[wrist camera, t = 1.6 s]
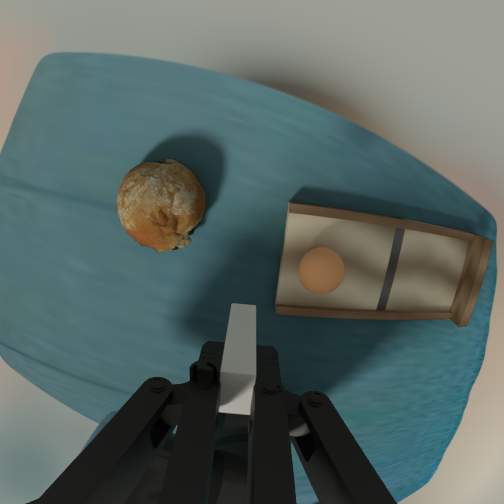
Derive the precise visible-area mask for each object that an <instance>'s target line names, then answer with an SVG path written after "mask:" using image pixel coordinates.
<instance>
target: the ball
mask: <svg viewBox="0 0 504 504" xmlns="http://www.w3.org/2000/svg"><path fill="white" fill-rule="evenodd" d="M344 273H345V268H344V264H343V261H342V259H341V257H340V256H339V255H338V254H337V253H336V252H335V251H333V250H331V249H329V248H324V247H319V248H314V249H312V250H310V251H308V252H307V253H306V254H305V255H304V256H303V257H302V259H301V261H300V263H299V268H298V274H299V279H300V281H301V283H302V285H303V286H304V287H305V288H306V289H307V290H308V291H310V292H312V293H315V294H327V293H330V292H332V291H334V290H335V289H337V288H338V287H339V285H340V284H341V282H342V280H343V278H344Z"/></svg>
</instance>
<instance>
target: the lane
mask: <svg viewBox="0 0 504 504" xmlns="http://www.w3.org/2000/svg"><path fill="white" fill-rule="evenodd" d="M492 244H493V241H492V240H489V239H487V238H484V237H482V236H479V235H477V234H474V233H470V232H466V231H461V230H457V229H452V228H447V227H443V226H438V225H433V224H428V223H423V222H418V221H413V220H407V219H402V218H396V217H391V216H385V215H379V214H373V213H367V212H361V211H354V210H348V209H341V208H334V207H327V206H320V205H313V204H305V203H297V202H288V211H287V219H286V226H285V234H284V242H283V249H282V257H281V264H280V271H279V278H278V285H277V292H276V299H275V305H274V308H275V314H277V315H290V316H306V317H323V318H345V319H380V320H432V319H450V320H452V321H453V322H454V323H455V324H456V325H457V326H458V327H464V326H467V325H468V322H469V320H470V317H471V314H472V312H473V309H474V306H475V303H476V301H477V298H478V295H479V292H480V288H481V285H482V282H483V279H484V275H485V272H486V268H487V264H488V260H489V256H490V252H491V248H492ZM319 247H324V248H329V249H331V250H333V251H335V252H336V253H337V254H338V255H339V256H340V257H341V259H342V261H343V264H344V268H345V273H344V278H343V280H342V282H341V284H340V285H339V287H338V288H337V289H335V290H334V291H332V292H330V293H327V294H315V293H312V292H310V291H308V290H307V289H306V288H305V287H304V286H303V285H302V283H301V281H300V279H299V274H298V268H299V263H300V261H301V259H302V257H303V256H304V255H305V254H306V253H307V252H308V251H310V250H312V249H314V248H319Z"/></svg>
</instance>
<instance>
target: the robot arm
mask: <svg viewBox="0 0 504 504" xmlns="http://www.w3.org/2000/svg"><path fill="white" fill-rule="evenodd" d="M176 425H178V427H177V431H176V434H174V433H172V432H173V430H174V429H175V427H176ZM291 443H293V445H294V447H295V450H296V452H297V454H298V456H299V459H300V461H301V463H302V465H303V468H304V470H305V472H306V474H307V476H308V479H309V481H310V483H311V485H312V487H313V489H314V491H315V494H316V496H317V498H318V500H319V502H320V504H397V503H396V501H395V500H394V498H393V497H392V495H391V494H390V492H389V491H388V489H387V488H386V486H385V485H384V483H383V482H382V480H381V479H380V477H379V476H378V474H377V472H376V471H375V469H374V468H373V466H372V465H371V463H370V462H369V460H368V459H367V457H366V456H365V454H364V452H363V451H362V449H361V448H360V446H359V445H358V443H357V442H356V440H355V438H354V437H353V435H352V434H351V432H350V431H349V429H348V428H347V426H346V424H345V423H344V421H343V420H342V418H341V417H340V415H339V413H338V412H337V410H336V409H335V407H334V406H333V404H332V402H331V401H330V399H329V398H328V397H327V396H326V395H325V394H323V393H321V392H318V391H309V392H306V393H304V394H303V395H302V396H299V395H295V394H292V393H290V392H288V391H286V390H285V389H284V387H283V386H282V385H281V379H280V370H279V361H278V352H277V351H276V350H275V348H274V347H273V346H259V345H256V305H247V304H237V303H232V305H231V310H230V316H229V322H228V328H227V334H226V340H225V343H222V342H213V341H207V342H206V343H205V344H204V345H203V346H202V349H201V353H200V356H199V360H198V361H196V362H194V363H193V364H192V365H191V366H190V381H188V382H186V383H183V384H173V385H172V384H171V382H170V381H169V380H167V379H165V378H162V377H153V378H150V379H148V380H146V381H145V382H144V383H143V384H142V385H141V386H140V388H139V389H138V390H137V391H136V392H135V393H134V394H133V395H132V396H131V398H130V399H129V400H128V401H127V402H126V403H125V404H124V405H123V407H122V408H121V409H120V410H119V411H113V412H111V413H109V414H108V415H107V416H106V417H105V418H104V419H103V420H102V421H101V423H100V424H99V426H98V427H97V428H96V430H95V431H94V432H93V434H92V435H91V437H90V438H89V440H88V441H87V443H86V444H85V446H84V447H83V449H82V450H81V452H80V454H79V455H78V456H77V457H76V459H75V460H74V461H73V462H72V463H71V464H70V465H69V466H68V467H67V468H66V469H65V471H64V472H63V473H62V474H61V475H60V476H59V477H58V478H57V479H56V480H55V481H54V483H53V484H52V485H51V486H50V487H49V488H48V489H47V490H46V491H45V492H44V494H43V495H42V496H41V497H40V498H39V499H36V500H34V501H31V502H29V503H26V504H297V503H296V494H295V483H294V473H293V463H292V454H291Z"/></svg>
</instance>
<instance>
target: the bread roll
mask: <svg viewBox="0 0 504 504" xmlns="http://www.w3.org/2000/svg"><path fill="white" fill-rule="evenodd" d="M205 205H206V198H205V193H204V191H203V189H202V187H201V184H199V182H198V179H197V178H196V176H195V175H194V174H193V172H192V171H191V170H190V169H188V168H187V167H185V166H184V165H182V164H181V163H179V162H177V161H175V160H173V159H165V163H163V162H160V161H158V162H157V161H156V162H153V163H151V162H146V163H142V164H139V165H137V166H135V167H134V168H132V169H131V170H130V171H129V172H128V173H127V174H126V176H125V177H124V179H123V181H122V183H121V186H120V188H119V192H118V196H117V208H118V214H119V217H120V220H121V223H122V225H123V227H124V228H125V230H126V231H127V233H128V234H129V235H130V236H131V237H132V238H133V239H134V240H135V241H137V242H138V243H140V244H141V245H142V246H146V247H151V248H153V249H155V250H156V252H157V253H160V252H163V251H172V250H176V249H178V248H183V247H185V246H187V245H189V243H190V242H191V240H190V238H189V237H188V235H191V234H193V233H194V229H195V226H197V224H198V223H199V222H200V221H201V220H202V217H203V213H204V211H205ZM179 234H180V235H179Z"/></svg>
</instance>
